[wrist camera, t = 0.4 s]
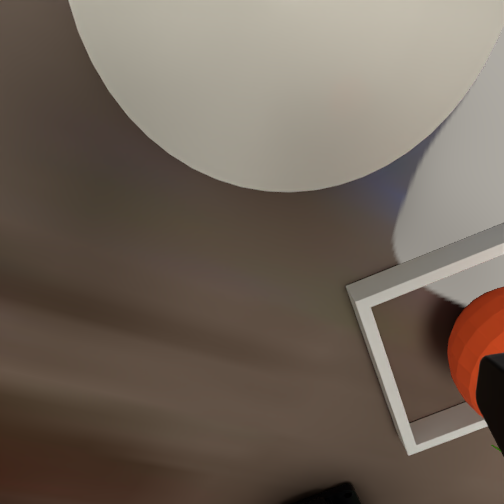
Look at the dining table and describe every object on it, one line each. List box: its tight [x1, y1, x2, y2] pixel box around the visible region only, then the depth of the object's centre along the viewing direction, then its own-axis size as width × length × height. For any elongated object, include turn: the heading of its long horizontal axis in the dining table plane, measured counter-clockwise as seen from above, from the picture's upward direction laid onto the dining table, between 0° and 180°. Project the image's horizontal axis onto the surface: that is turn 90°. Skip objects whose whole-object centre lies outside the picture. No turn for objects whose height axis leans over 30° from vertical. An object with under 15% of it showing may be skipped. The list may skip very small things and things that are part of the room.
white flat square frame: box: [346, 223, 504, 456], centre depth 24 cm, size 11×12×2 cm
